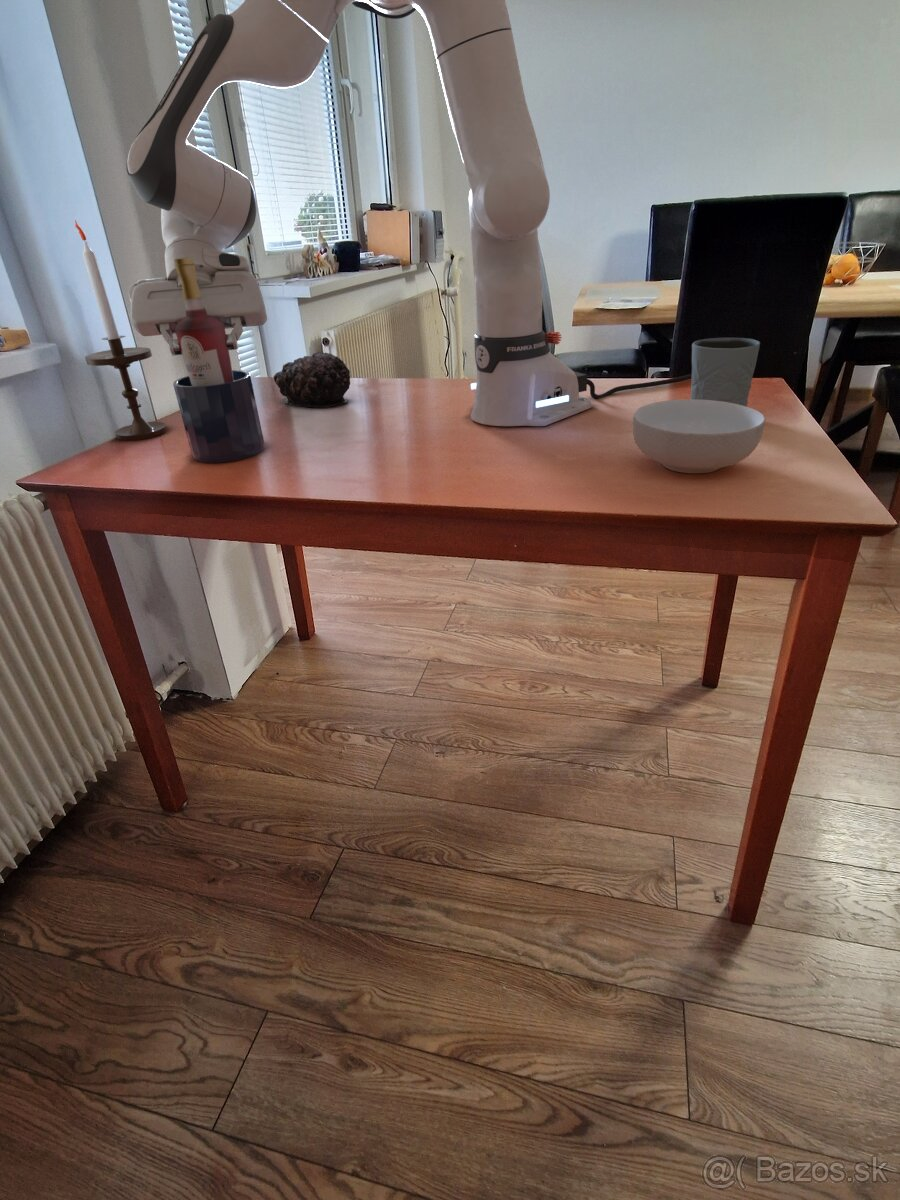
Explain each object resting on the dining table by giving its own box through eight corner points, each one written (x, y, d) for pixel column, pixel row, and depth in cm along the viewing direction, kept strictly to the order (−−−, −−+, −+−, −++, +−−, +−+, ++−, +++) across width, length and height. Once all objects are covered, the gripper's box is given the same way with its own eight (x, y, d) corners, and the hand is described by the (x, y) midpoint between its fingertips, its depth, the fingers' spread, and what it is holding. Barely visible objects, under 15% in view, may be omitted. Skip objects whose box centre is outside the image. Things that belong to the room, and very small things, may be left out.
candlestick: (98, 439, 124) (26, 223, 106) (145, 423, 132) (85, 220, 114) (138, 444, 119) (70, 219, 101) (184, 427, 127) (128, 216, 110)
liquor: (258, 439, 114) (219, 255, 99) (234, 453, 108) (188, 259, 93) (222, 438, 116) (178, 257, 101) (196, 451, 110) (145, 262, 95)
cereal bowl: (692, 496, 84) (699, 440, 80) (605, 461, 96) (607, 412, 93) (784, 467, 90) (795, 414, 87) (691, 438, 103) (697, 392, 99)
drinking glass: (727, 430, 105) (739, 350, 99) (671, 419, 112) (679, 344, 106) (759, 415, 111) (772, 339, 105) (704, 406, 118) (713, 334, 112)
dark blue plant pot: (251, 436, 119) (236, 366, 113) (275, 451, 111) (260, 377, 104) (184, 451, 114) (165, 379, 108) (204, 468, 105) (184, 390, 99)
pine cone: (289, 395, 145) (281, 347, 140) (361, 398, 139) (355, 347, 134) (261, 408, 137) (251, 357, 132) (336, 411, 131) (328, 358, 125)
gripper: (120, 266, 102) (127, 343, 99) (256, 256, 105) (267, 330, 102) (134, 295, 108) (141, 369, 105) (263, 284, 111) (273, 356, 108)
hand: (204, 350), depth 103 cm, fingers closed on liquor, 7 cm apart
